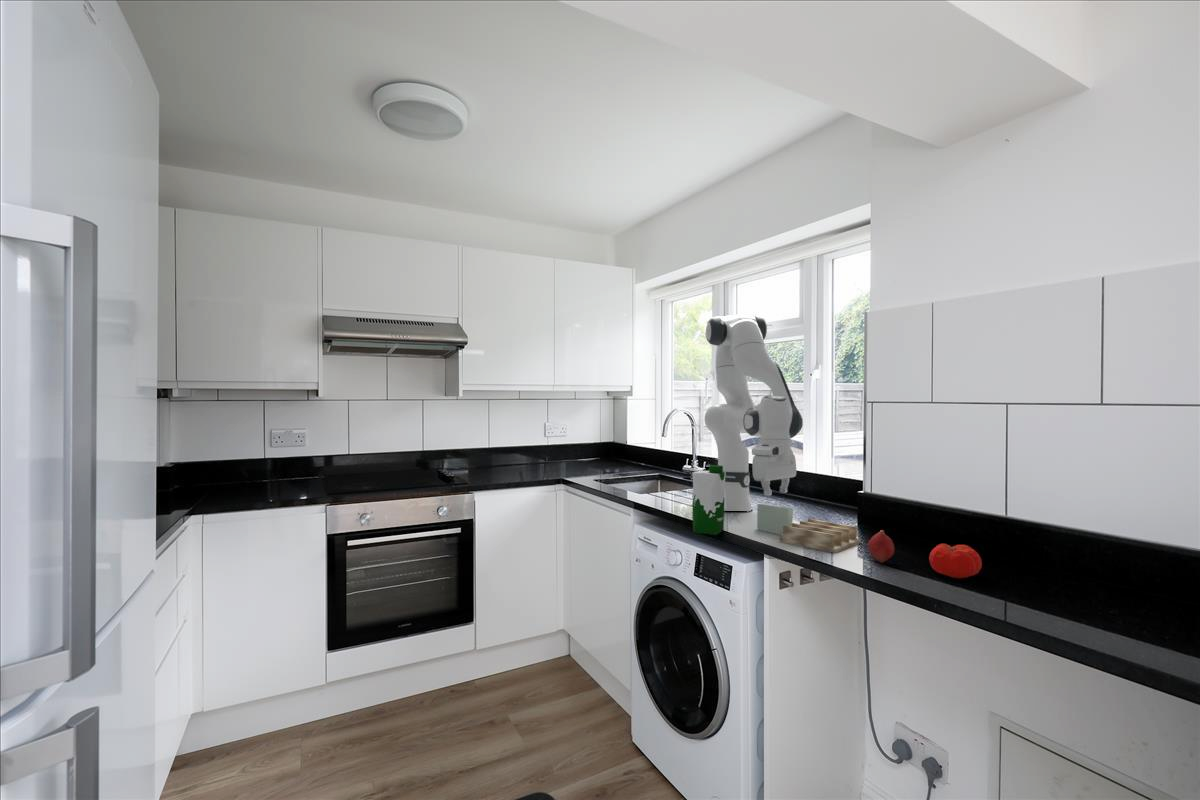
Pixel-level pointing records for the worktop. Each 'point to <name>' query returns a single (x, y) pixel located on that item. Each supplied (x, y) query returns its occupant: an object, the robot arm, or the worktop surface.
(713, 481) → the milk carton
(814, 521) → the dish rack
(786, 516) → the pale green rectangular block
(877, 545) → the onion
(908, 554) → the worktop surface
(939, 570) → the tomato
